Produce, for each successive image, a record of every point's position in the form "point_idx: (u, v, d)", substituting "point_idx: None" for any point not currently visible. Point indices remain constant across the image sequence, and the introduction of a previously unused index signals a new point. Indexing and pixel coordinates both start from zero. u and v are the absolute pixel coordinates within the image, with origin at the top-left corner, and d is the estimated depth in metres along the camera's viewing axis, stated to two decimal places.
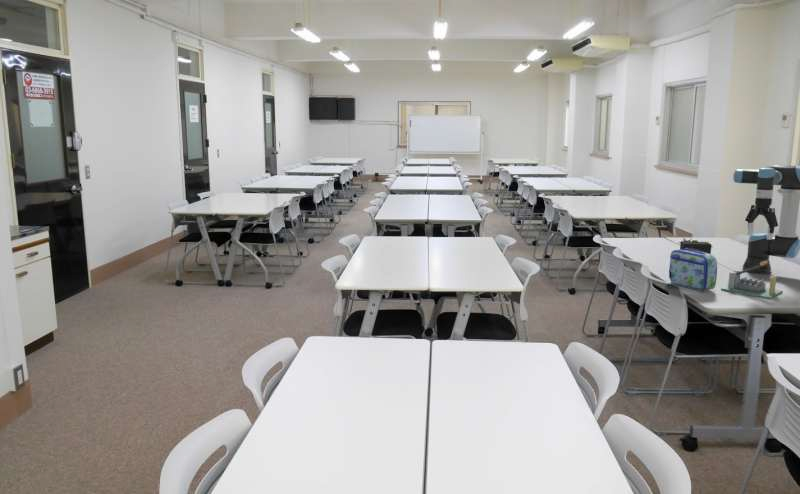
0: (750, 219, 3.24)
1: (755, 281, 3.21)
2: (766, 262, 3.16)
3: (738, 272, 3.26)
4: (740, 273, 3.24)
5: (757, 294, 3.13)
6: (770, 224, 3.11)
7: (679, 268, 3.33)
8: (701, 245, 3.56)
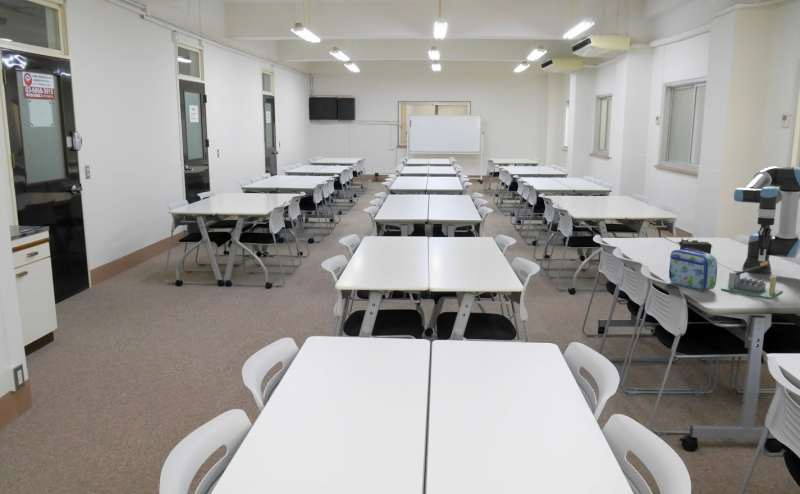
0: None
1: (755, 281, 3.21)
2: (766, 263, 3.16)
3: (738, 272, 3.26)
4: (740, 273, 3.24)
5: (757, 294, 3.13)
6: None
7: (679, 268, 3.33)
8: (701, 245, 3.56)
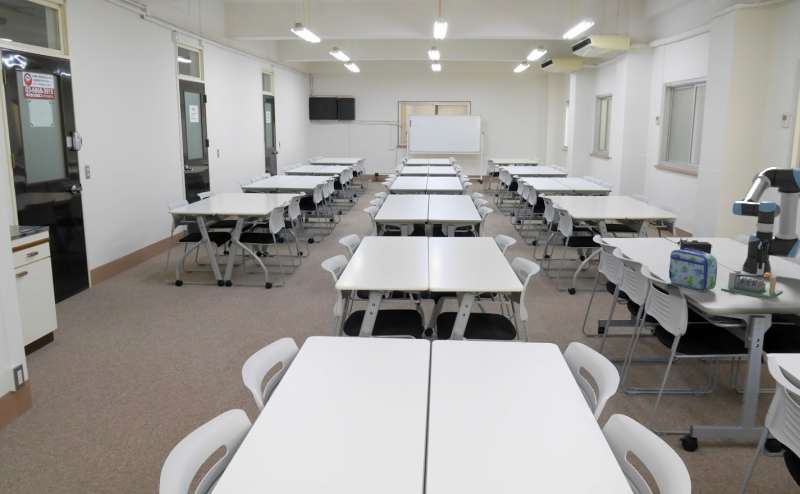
0: None
1: (755, 281, 3.21)
2: (770, 275, 3.15)
3: (739, 274, 3.25)
4: (740, 276, 3.24)
5: (757, 294, 3.13)
6: None
7: (679, 268, 3.33)
8: (701, 245, 3.56)
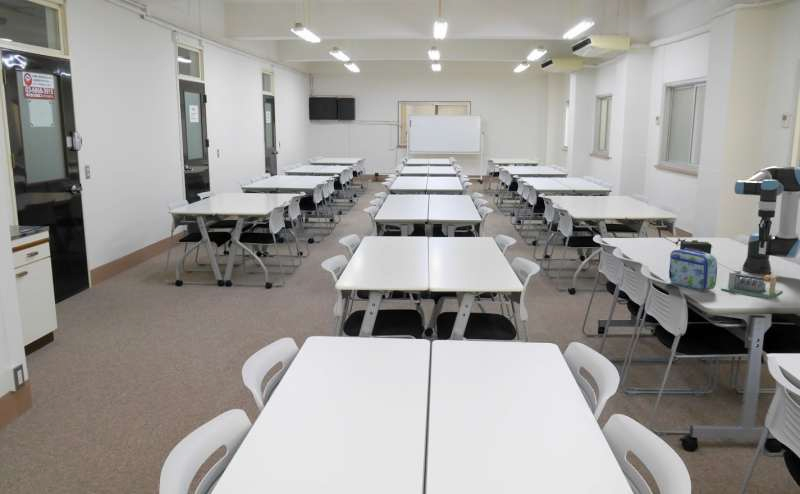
0: None
1: (755, 281, 3.21)
2: None
3: (739, 274, 3.25)
4: (740, 276, 3.24)
5: (757, 294, 3.13)
6: None
7: (679, 268, 3.33)
8: (701, 245, 3.56)
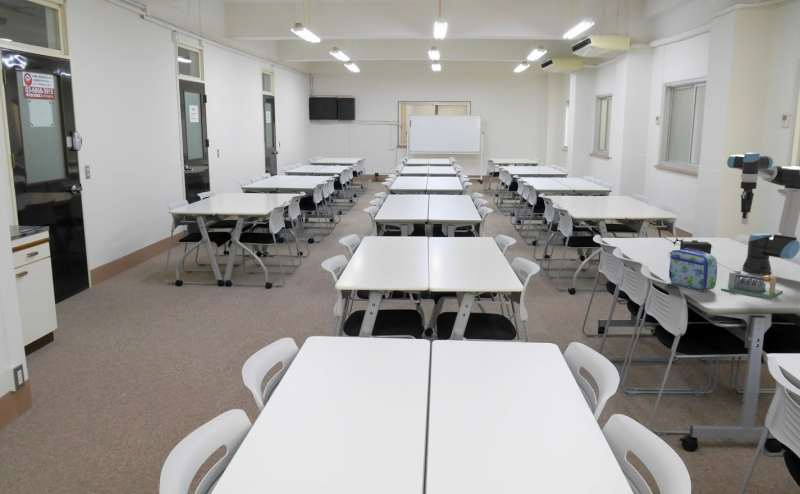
0: None
1: (755, 281, 3.21)
2: None
3: (739, 274, 3.25)
4: (740, 276, 3.24)
5: (757, 294, 3.13)
6: None
7: (679, 268, 3.33)
8: (701, 245, 3.56)
